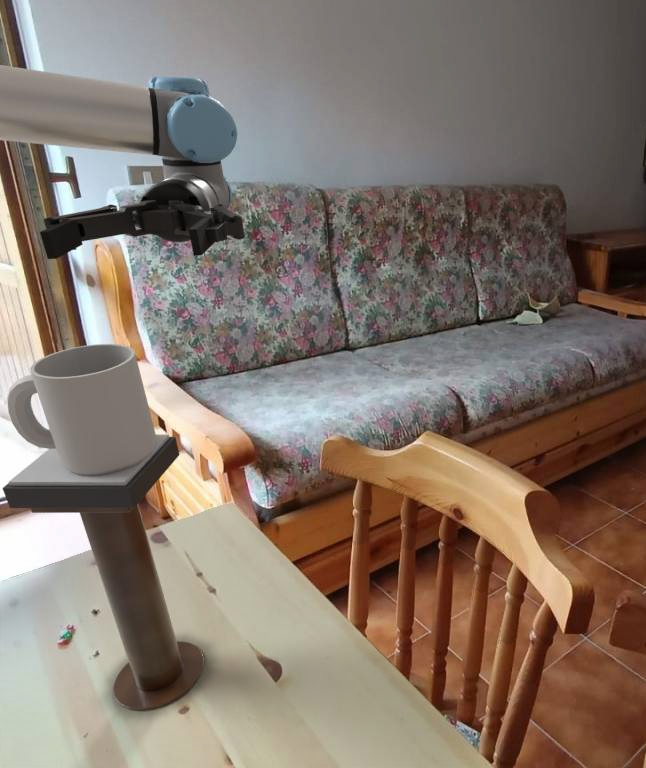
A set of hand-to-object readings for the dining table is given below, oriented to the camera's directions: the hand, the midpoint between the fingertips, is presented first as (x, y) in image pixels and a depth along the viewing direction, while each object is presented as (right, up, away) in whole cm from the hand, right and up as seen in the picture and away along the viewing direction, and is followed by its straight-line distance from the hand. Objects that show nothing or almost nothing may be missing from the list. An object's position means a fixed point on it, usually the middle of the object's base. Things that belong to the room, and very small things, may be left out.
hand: (122, 244), depth 64 cm
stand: (+3, -45, +2) cm, 45 cm away
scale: (+3, -23, -8) cm, 24 cm away
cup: (+3, -21, -9) cm, 23 cm away
